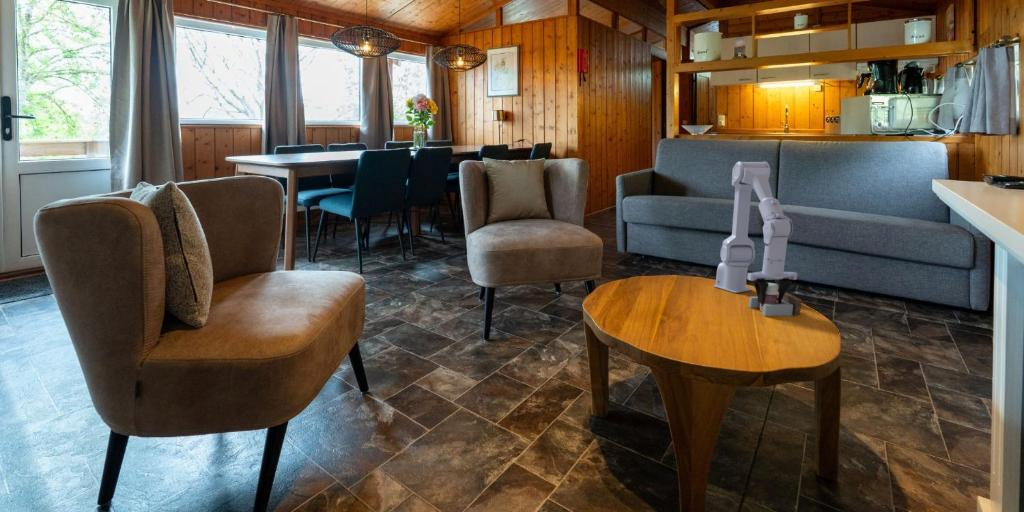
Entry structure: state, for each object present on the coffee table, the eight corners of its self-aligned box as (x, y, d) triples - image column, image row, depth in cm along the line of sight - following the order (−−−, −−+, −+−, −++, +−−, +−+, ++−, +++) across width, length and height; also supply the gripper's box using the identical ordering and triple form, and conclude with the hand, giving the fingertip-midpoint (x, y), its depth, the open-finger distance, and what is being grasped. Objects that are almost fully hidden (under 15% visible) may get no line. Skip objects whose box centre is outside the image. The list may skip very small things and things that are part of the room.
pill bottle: (778, 314, 159) (782, 287, 158) (761, 313, 160) (764, 286, 158) (774, 309, 164) (777, 282, 162) (757, 308, 165) (760, 282, 163)
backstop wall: (794, 316, 158) (796, 299, 157) (776, 306, 166) (778, 291, 165) (799, 315, 158) (801, 299, 157) (781, 306, 167) (783, 291, 166)
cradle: (764, 316, 157) (765, 305, 157) (748, 306, 166) (749, 296, 165) (792, 315, 158) (793, 304, 157) (774, 305, 167) (775, 296, 166)
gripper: (758, 262, 154) (753, 307, 157) (805, 261, 155) (800, 306, 158) (745, 257, 161) (741, 300, 164) (791, 256, 162) (785, 299, 165)
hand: (769, 302), depth 161 cm, fingers closed on pill bottle, 5 cm apart
